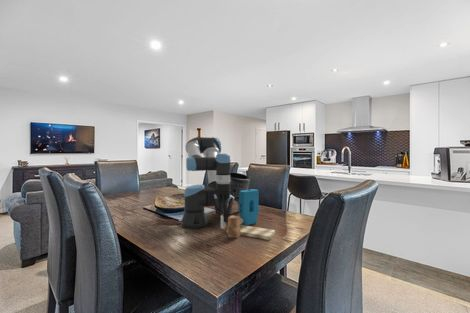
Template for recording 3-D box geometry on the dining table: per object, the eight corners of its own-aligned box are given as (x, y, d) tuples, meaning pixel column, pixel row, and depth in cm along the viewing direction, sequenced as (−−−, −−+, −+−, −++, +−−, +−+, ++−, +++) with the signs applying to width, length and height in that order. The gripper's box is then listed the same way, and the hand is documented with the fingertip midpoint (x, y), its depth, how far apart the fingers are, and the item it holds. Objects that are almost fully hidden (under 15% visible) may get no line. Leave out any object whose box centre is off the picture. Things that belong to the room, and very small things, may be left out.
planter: (210, 209, 158) (217, 172, 154) (227, 204, 174) (233, 170, 170) (233, 219, 147) (240, 180, 143) (248, 213, 163) (255, 178, 160)
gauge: (227, 237, 115) (227, 217, 115) (237, 229, 126) (237, 211, 125) (236, 238, 113) (236, 218, 112) (245, 231, 124) (245, 212, 123)
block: (243, 226, 132) (243, 192, 131) (238, 223, 136) (238, 190, 135) (259, 222, 139) (259, 190, 138) (253, 220, 143) (254, 189, 142)
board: (226, 232, 121) (226, 229, 121) (234, 226, 130) (234, 223, 130) (269, 240, 111) (269, 236, 111) (275, 233, 120) (275, 229, 120)
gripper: (208, 183, 118) (208, 228, 118) (231, 184, 112) (231, 231, 112) (216, 181, 124) (216, 224, 125) (237, 182, 119) (237, 227, 119)
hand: (223, 227), depth 118 cm, fingers closed
